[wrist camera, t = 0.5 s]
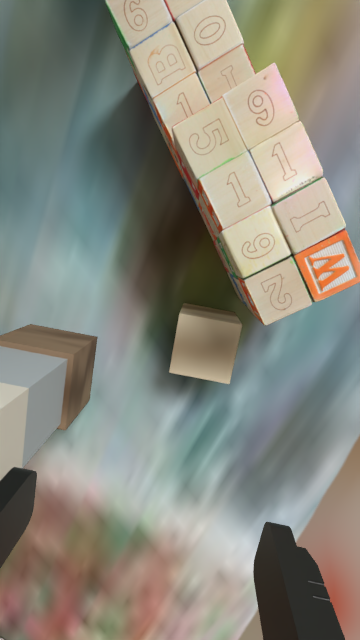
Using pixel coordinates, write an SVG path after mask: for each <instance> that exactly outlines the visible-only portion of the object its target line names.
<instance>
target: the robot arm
mask: <svg viewBox="0 0 360 640" xmlns="http://www.w3.org/2000/svg"><path fill="white" fill-rule="evenodd" d="M36 478H37V473H36V471H32V470H27V469H22V468H18V467H13V468H12V469H11V470H10V471H9V472H8V473H7V474H6V475H5V476H4V477H3V478H2V480H1V481H0V568H1V566H2V565H3V563H4V562H5V560H6V559H7V557H8V556H9V554H10V552H11V551H12V549H13V548H14V546H15V545H16V543H17V542H18V540H19V539H20V537H21V535H22V534H23V532H24V531H25V529H26V527H27V525H28V523H29V521H30V519H31V516H32V512H33V507H34V498H35V488H36ZM254 583H255V589H256V596H257V602H258V608H259V614H260V621H261V626H262V633H263V639H264V640H345V638H344V635H343V633H342V630H341V627H340V624H339V622H338V619H337V616H336V614H335V611H334V608H333V605H332V603H331V602H330V597H329V595H328V592H327V589H326V587H324V582H323V579H322V576H321V573H320V571H319V568H318V565H317V564H316V562H315V561H314V560H313V558H312V557H311V555H310V554H309V553H308V551H307V550H306V549H305V548H302V547H297V546H296V543H295V539H294V536H293V533H292V530H291V528H290V527H289V526H285V525H280V524H276V523H271V522H266V523H265V525H264V528H263V531H262V535H261V538H260V542H259V545H258V548H257V552H256V555H255V560H254Z"/></svg>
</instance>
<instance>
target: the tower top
mask: <svg viewBox="0 0 360 640" xmlns="http://www.w3.org/2000/svg"><path fill="white" fill-rule="evenodd" d="M28 393H29V388H26V387H21V386H16V385H11V384H6V383H1V382H0V481H1V480H2V478H3V477H4V476H5V475H6V474H7V473H8V472H9V471H10V470H11V469H12V468H13V467H18V468H22V462H23V450H24V439H25V427H26V416H27V404H28Z"/></svg>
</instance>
